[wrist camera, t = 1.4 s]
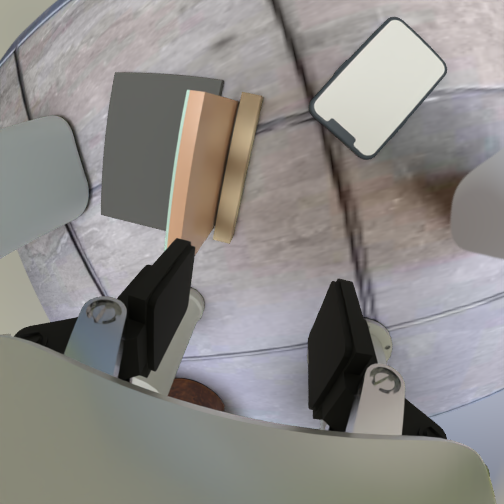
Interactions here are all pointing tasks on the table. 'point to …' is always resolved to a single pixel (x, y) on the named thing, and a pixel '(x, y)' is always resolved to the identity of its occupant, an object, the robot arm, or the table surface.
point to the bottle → (174, 349)
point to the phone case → (378, 88)
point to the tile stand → (236, 165)
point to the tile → (199, 166)
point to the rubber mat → (144, 143)
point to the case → (195, 394)
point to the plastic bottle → (38, 181)
